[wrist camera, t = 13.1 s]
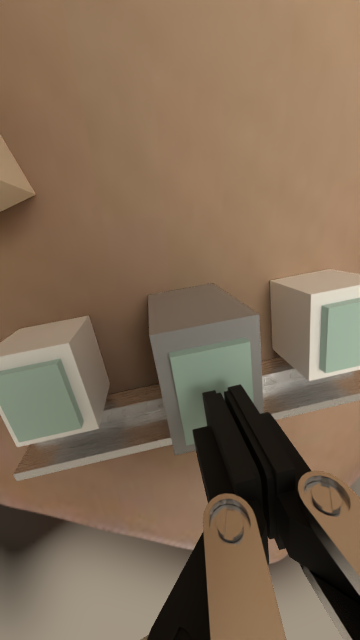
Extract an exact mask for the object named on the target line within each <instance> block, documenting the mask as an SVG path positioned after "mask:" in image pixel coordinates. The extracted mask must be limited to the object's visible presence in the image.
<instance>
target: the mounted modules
mask: <svg viewBox="0 0 360 640" xmlns="http://www.w3.org/2000/svg"><path fill="white" fill-rule="evenodd" d="M270 299H271V327H272V349H273V350H274V351H275V352H276V353H278V354H279V355H280V356H281V357H282V358H283V359H284V360H286V361H287V362H288V363H289V364H290V365H291V366H292V367H293V368H295V369H296V370H297V371H298V372H299V373H300V374H301V375H303V376H304V377H305V378H306V379H307V380H308V381H312V380H316V379H321V378H325V377H329V376H334V375H338V374H343V373H347V372H351V371H356V370H360V274H357V273H351V272H345V271H339V270H333V269H327V270H322V271H316V272H311V273H306V274H301V275H296V276H291V277H285V278H280V279H275V280H270ZM109 386H110V382H109V378H108V375H107V372H106V369H105V365H104V362H103V359H102V356H101V352H100V349H99V346H98V343H97V339H96V336H95V333H94V330H93V326H92V323H91V320H90V317H89V315H88V316H83V317H78V318H73V319H67V320H62V321H57V322H52V323H47V324H42V325H36V326H31V327H26V328H21V329H18V330H17V331H16V332H14V333H13V334H12V335H10V336H9V337H7V338H6V339H5V340H3V341H2V342H0V415H1V417H2V419H3V421H4V423H5V425H6V427H7V429H8V431H9V433H10V435H11V436H12V438H13V440H14V442H15V444H16V446H17V447H21V446H25V445H29V444H34V443H38V442H43V441H47V440H52V439H56V438H60V437H65V436H69V435H74V434H78V433H82V432H87V431H91V430H96V429H99V427H100V423H101V418H102V414H103V410H104V406H105V402H106V398H107V394H108V390H109Z"/></svg>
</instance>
